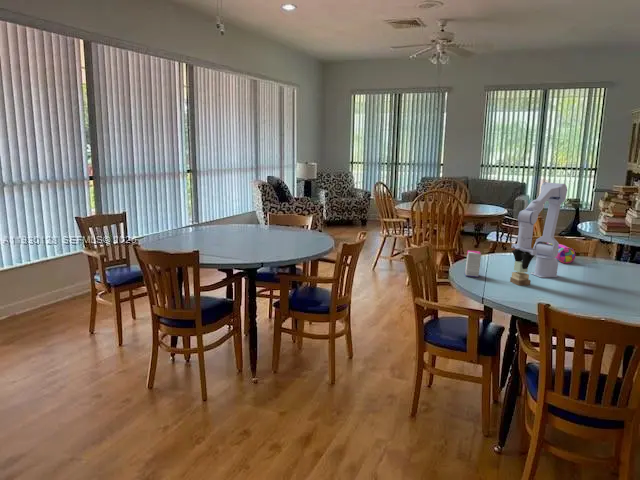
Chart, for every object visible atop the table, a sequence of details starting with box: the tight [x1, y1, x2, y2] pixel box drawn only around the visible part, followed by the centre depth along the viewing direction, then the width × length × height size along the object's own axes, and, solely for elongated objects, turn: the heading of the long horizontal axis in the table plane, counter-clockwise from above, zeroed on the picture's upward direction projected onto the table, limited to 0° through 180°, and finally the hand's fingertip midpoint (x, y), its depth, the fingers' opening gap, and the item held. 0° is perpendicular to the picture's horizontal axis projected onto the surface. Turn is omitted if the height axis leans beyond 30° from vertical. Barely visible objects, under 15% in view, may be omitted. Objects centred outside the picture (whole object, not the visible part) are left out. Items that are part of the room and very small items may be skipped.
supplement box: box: [464, 250, 482, 279], centre depth 230 cm, size 6×6×12 cm
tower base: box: [509, 276, 531, 287], centre depth 221 cm, size 6×6×2 cm
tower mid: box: [511, 271, 530, 280], centre depth 220 cm, size 5×5×2 cm
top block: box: [513, 261, 529, 273], centre depth 219 cm, size 4×4×4 cm
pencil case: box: [546, 242, 576, 264], centre depth 270 cm, size 22×9×9 cm, turn 0°
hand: (521, 267), depth 219 cm, fingers closed on top block, 4 cm apart
